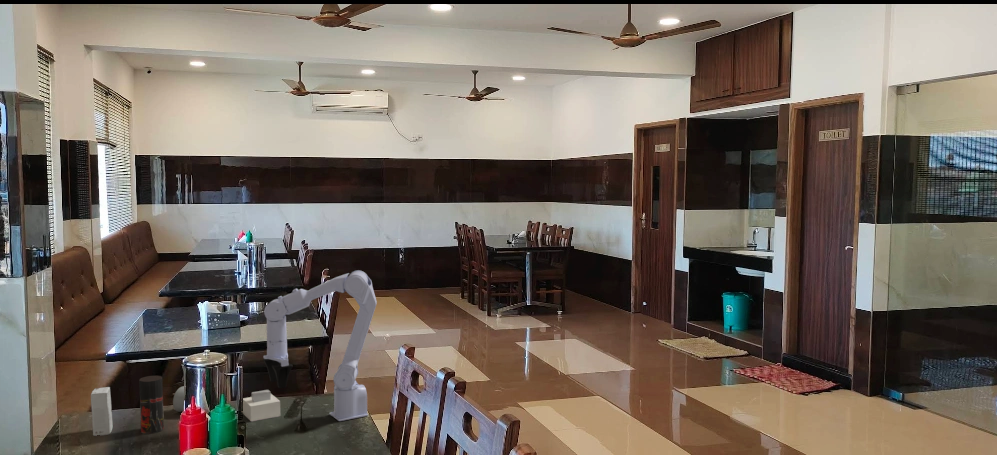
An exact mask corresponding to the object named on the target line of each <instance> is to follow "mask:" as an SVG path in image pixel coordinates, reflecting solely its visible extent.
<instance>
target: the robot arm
mask: <svg viewBox="0 0 997 455" xmlns="http://www.w3.org/2000/svg"><path fill="white" fill-rule="evenodd" d="M334 292H337V293H341V294H343V293H345V292H346V293H347V294H348V295H349V296H351V297H352V298H354V300H355V301H356V303H357V305H358V306H359V308H358V312H357V315H356V318H355V322H354V325H353V328H352V331H351V334H350V337H349V340H348V342H347V343H348V344H347V347H346V350H345V353H344V356H343V359H342V361H341V363H340V364H339V366H338V368H337V370H336V372H335V374H334V376H333V384H334V386H333V398H334V399H333V406H334V407H333V410H334V411H331V412H329V416H331V417H333V419H335V420H337V421H338V422H343V421H348V420H352V419H358V418H363V417H368V416H369V414H368V393H367V388H366V387H365V385H364V384H359V383H358V382H357V380H356V379H357V377H358V375H359V367H358V365H359V361H360V358H361V355H362V350H363V348H364V345H365V342H366V338H367V336H368V332H369V329H370V325H371V322H372V319H373V317H374V313H375V310H376V308H377V303H378V301H377V298H376V295H375V291H374V287H373V282H372V279H371V278H370V277H369V276H368V274H367V273H366V272H364V271H362V270H359V269H358V270H354V271H351V273H349V272H348V273H344V274H342V275H339V276H335V277H334V278H330V279H329V280H327V281H325V282H324V283H321V284H319V285H317V286H314V287H312V288H310V289H309V290H307V289H304V288H300V289H298V288H293V290H292V292H291V293H288V294H286V295H283V296H282V295H280V296H278V297H277V298H275V299H272V300H271V301H270V302H269V303H268V304H267V305H266V306H265V308H264V312H263V314H264V317H265V318H266V347H267V348H266V355H265V354H264V355H263V359H262V361H263V363H264V365H265V367H266V369H267V374H268V377H269V381H270V382H271V383H274V382H276V384H277V388H278V389H284V388H287V384H288V380H289V375H290V374H291V371H292V368H293V366H294V364H291V363H289V353H288V332H287V330H288V329H287V328H288V327H287V326H288V325H287V316H286V315H291V314H294V313H296V312H299V311H302V310H304V309H306V308H309V307H310V305H311V302H312V301H313V300H316V299H318V298H321V297H324V296H326V295H328V294H330V293H334Z"/></svg>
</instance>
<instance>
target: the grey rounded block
mask: <svg viewBox="0 0 997 455" xmlns="http://www.w3.org/2000/svg"><path fill="white" fill-rule="evenodd" d="M184 386H185V385H183V386H180V387H179V388H178V389H177V390H176V391H175V393H174V395H173V399H172V406H173V409H174V410H175V411H176V412H178V413H182V412H181V411H183V405H184Z"/></svg>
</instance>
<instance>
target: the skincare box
mask: <svg viewBox="0 0 997 455" xmlns="http://www.w3.org/2000/svg"><path fill="white" fill-rule="evenodd" d="M90 404H91V406H90V407H91V422H92V436H95V437H98V436H97V435H100V436H106V435H110V434H111V432H112V431H113V425H114V424H113V412H112V397H111V387H110V386H107V387H106V386H105V387H97V388H94V389H93V390H92V391H91V394H90Z"/></svg>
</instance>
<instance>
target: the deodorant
mask: <svg viewBox="0 0 997 455" xmlns="http://www.w3.org/2000/svg"><path fill="white" fill-rule="evenodd" d="M138 381H139V386H138V387H139V409H140V410H139V412H140V413H139V414H140V415H139V416H140V433H142V434H148V435H149V434H155V433H160V432H162V431H164V429H165V428H164V420H165V419H164V396H163V394H164V393H163V391H164V390H163V376H161V375H148V376H144V377H141V378H139V379H138Z"/></svg>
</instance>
